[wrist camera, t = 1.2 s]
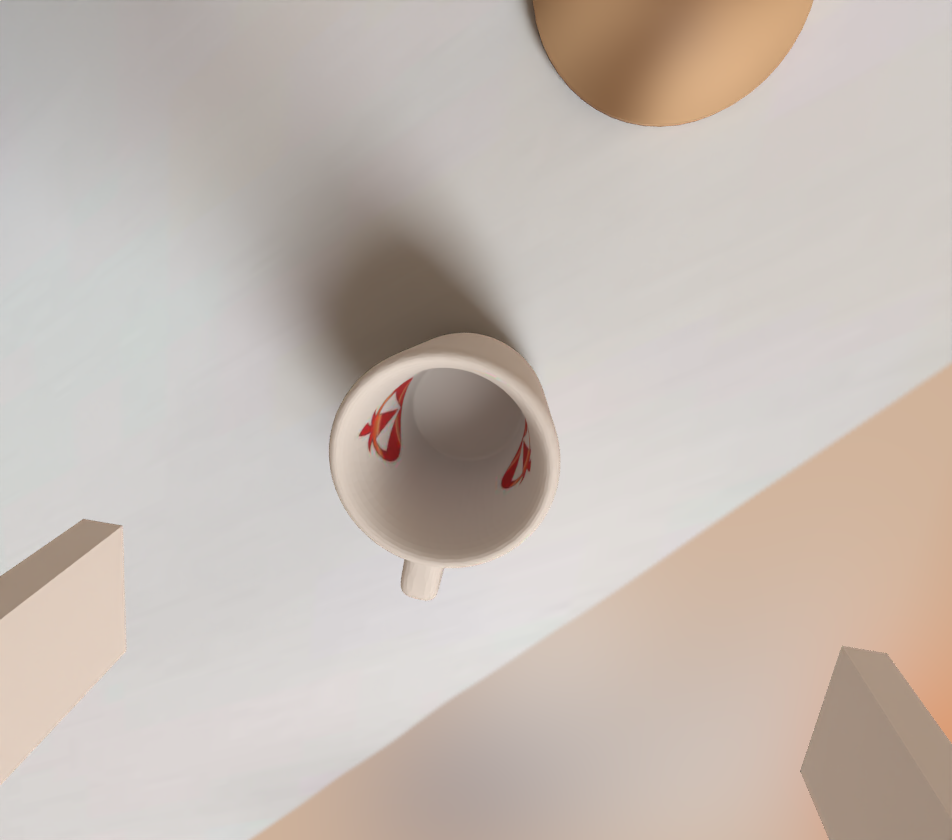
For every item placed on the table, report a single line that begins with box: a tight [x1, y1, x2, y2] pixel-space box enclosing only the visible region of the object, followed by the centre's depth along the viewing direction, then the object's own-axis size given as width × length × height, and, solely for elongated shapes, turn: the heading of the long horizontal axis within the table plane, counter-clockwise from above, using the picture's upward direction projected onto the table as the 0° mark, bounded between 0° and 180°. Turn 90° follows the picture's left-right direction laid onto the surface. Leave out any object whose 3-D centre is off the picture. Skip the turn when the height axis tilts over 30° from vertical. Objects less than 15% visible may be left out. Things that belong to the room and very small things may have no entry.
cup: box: [329, 333, 560, 601], centre depth 29 cm, size 11×8×8 cm
